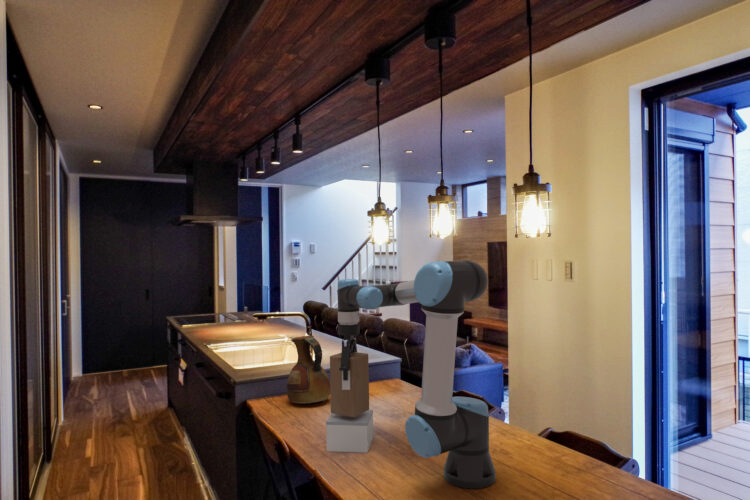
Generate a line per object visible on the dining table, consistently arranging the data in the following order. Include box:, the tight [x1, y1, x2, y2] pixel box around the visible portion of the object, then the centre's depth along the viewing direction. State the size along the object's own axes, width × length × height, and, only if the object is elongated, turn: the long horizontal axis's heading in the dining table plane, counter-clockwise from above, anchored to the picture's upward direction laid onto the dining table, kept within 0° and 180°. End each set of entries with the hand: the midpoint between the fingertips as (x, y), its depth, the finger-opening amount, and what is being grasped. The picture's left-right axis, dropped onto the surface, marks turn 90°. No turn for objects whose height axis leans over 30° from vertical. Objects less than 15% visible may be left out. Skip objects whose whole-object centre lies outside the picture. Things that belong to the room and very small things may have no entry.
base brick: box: [325, 409, 374, 454], centre depth 177 cm, size 14×14×10 cm
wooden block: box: [329, 351, 370, 417], centre depth 177 cm, size 10×10×20 cm
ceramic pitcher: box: [286, 335, 330, 404], centre depth 228 cm, size 20×20×30 cm
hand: (349, 384), depth 177 cm, fingers closed on wooden block, 12 cm apart
